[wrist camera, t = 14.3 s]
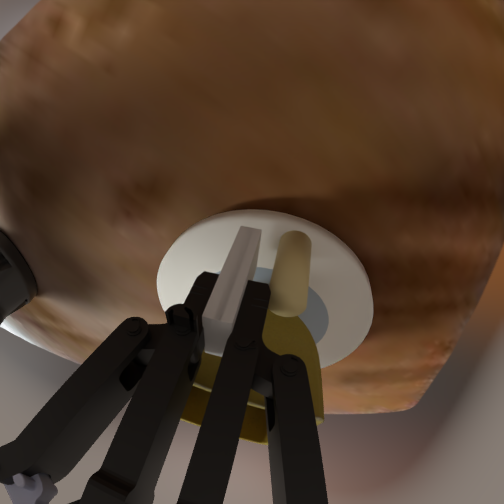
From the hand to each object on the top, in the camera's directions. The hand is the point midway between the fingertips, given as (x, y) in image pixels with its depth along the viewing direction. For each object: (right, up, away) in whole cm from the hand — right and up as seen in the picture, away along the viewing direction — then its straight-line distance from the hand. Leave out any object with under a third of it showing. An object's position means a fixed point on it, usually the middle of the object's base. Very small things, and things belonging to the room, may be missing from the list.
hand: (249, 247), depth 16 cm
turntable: (+1, -5, +7) cm, 9 cm away
